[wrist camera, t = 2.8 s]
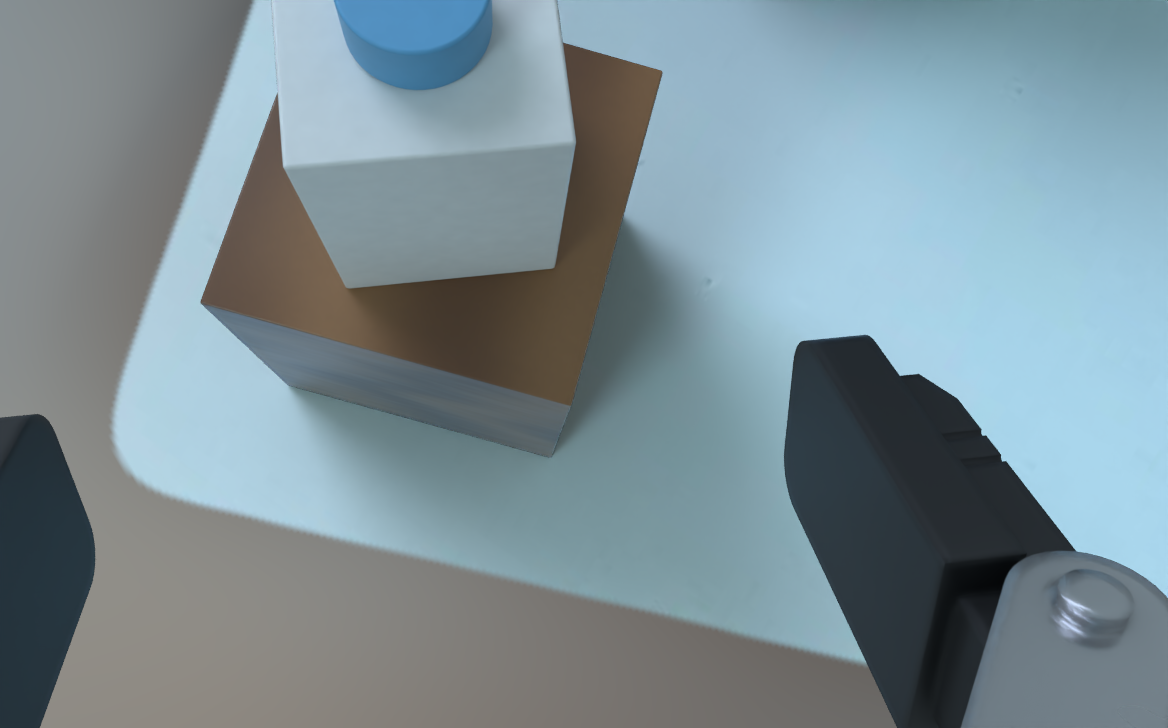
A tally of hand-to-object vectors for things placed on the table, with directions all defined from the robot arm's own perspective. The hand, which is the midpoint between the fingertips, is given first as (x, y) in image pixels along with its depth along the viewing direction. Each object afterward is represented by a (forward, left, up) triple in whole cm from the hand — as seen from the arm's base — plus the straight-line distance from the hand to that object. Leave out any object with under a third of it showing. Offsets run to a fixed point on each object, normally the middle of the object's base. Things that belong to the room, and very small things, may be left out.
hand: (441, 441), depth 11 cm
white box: (+4, +7, -12) cm, 15 cm away
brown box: (+4, +7, -22) cm, 24 cm away
